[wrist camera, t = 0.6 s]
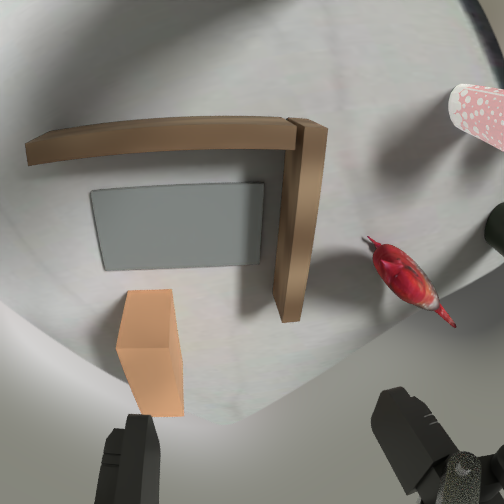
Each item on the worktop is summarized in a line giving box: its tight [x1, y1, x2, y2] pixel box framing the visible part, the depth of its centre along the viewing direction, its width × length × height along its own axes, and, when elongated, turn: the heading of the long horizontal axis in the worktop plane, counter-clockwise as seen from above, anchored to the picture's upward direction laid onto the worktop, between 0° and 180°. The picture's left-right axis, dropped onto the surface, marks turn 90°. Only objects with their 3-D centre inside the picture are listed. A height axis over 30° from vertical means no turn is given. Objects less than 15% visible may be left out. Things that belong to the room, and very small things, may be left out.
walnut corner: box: [25, 116, 328, 323], centre depth 23 cm, size 16×19×4 cm
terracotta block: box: [116, 289, 184, 417], centre depth 27 cm, size 10×4×7 cm, turn 178°
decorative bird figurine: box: [367, 236, 456, 328], centre depth 26 cm, size 3×18×10 cm, turn 51°
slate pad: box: [91, 182, 264, 271], centre depth 24 cm, size 7×13×1 cm, turn 88°
